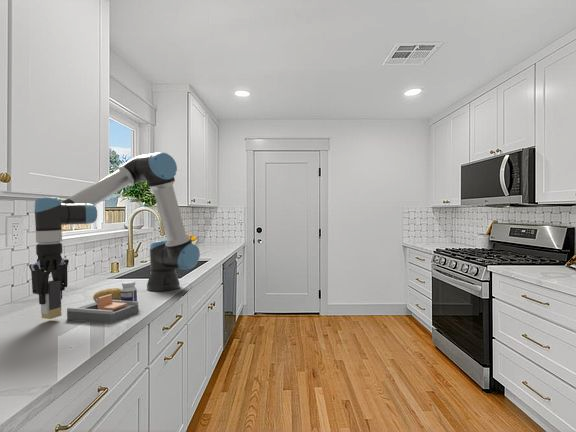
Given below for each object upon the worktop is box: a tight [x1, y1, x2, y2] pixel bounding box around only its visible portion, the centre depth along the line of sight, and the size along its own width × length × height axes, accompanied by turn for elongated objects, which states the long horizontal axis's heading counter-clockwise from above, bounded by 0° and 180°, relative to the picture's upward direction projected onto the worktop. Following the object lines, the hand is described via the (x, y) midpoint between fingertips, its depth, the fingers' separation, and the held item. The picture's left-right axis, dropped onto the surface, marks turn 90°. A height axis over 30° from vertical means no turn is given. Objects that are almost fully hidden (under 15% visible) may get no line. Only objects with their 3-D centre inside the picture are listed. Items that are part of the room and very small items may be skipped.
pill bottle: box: [120, 280, 138, 302], centre depth 145 cm, size 6×6×10 cm
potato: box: [92, 287, 122, 303], centre depth 151 cm, size 7×11×6 cm, turn 118°
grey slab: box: [66, 299, 139, 324], centre depth 133 cm, size 14×18×4 cm
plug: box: [41, 280, 62, 320], centre depth 127 cm, size 4×4×12 cm
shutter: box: [97, 294, 127, 310], centre depth 132 cm, size 7×7×4 cm
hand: (51, 311), depth 127 cm, fingers closed on plug, 4 cm apart
